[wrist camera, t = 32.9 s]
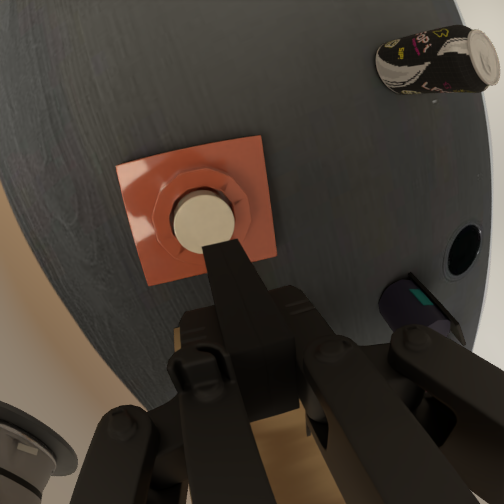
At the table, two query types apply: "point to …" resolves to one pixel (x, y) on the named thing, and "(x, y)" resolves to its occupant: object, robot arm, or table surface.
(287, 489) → the block
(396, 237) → the table surface
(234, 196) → the button base
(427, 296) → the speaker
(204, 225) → the beige button cap
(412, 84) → the beverage can
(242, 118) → the table surface
